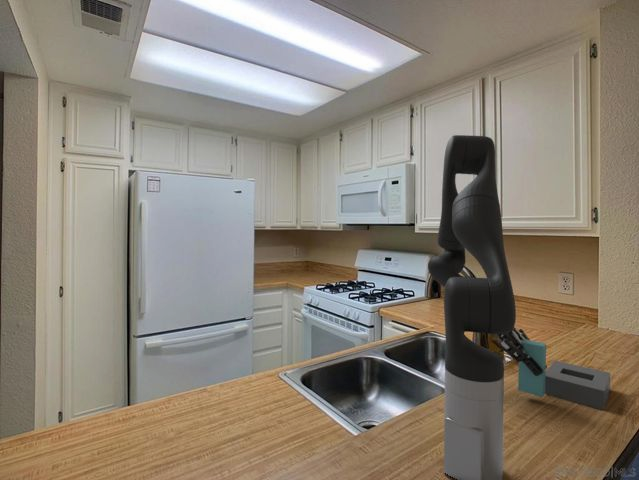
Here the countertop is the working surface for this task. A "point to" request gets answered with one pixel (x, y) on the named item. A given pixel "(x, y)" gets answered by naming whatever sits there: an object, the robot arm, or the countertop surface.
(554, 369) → the gray slotted block
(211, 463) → the countertop surface
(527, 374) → the teal rectangular block
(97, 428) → the countertop surface
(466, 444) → the robot arm
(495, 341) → the condiment
